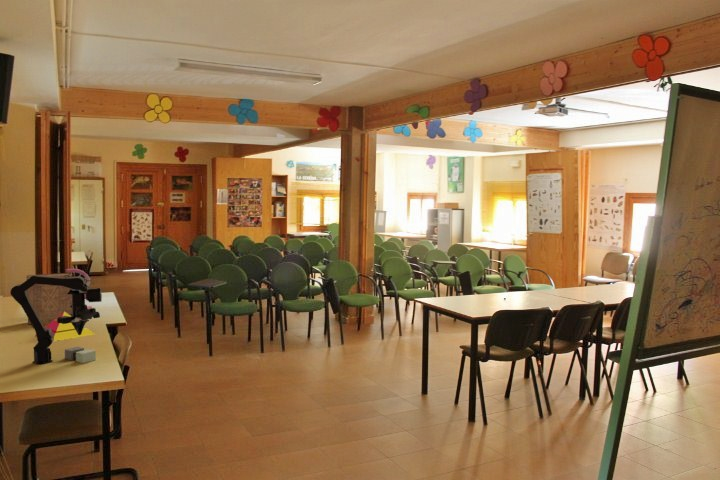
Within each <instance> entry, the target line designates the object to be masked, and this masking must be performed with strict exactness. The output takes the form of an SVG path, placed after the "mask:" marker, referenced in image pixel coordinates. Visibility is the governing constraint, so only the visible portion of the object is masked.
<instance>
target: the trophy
mask: <svg viewBox="0 0 720 480" xmlns="http://www.w3.org/2000/svg"><path fill="white" fill-rule="evenodd" d="M65 273H73V277H76V276H75V274H76V273H77V274H79V275H78V276H80V277H82V276H83V277H82V278H83V279H84V280H86V281H87V282H85V284H86V285H87V286H88V287H90V285H91V281H90V280H92V279H91V278H90V276H89V275H88V273H86V272H85V271H84V270H81V269H78V268H67V269H65ZM72 290H75V289H72ZM80 292H83V291H81V290H80ZM85 300H86V294H85ZM91 308H93V307H92V305H87V309H91Z"/></svg>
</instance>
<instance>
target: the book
mask: <svg viewBox="0 0 720 480" xmlns="http://www.w3.org/2000/svg"><path fill="white" fill-rule="evenodd" d="M33 275H34V274H28V275H26V281H27V280H28V279H29V278H30V277H31V276H33ZM37 275H38V276H50V277H61V278H67V277H73V274H72V272H69V273H67V272H63V273H62V272H61V273H45V274H44V273H43V274H37ZM70 289H71V288H67V287H64V286H57V285H44V284H34V285H33V286H32V287H30V288H29V289H28V293H29V298H30V302H31V303H32V305H33V307H34V309H35V310H36V312H37V314H38V316H39V318H40V319H41V321H42V323H43V325H45V324H44V323H46V324H50V323H51V322H52V321H53V320H56V318H57V317H58V316H59V315H61V314H62V313H63V312H64V311H65V312H66V313H67V314H69V315H70V316H71V313H72V307H70V305H72V294H67V293H68V292H69V291H70ZM71 317H72V316H71ZM27 323H28V326H32V324H31V322H30V321H29V319H28V318H27Z"/></svg>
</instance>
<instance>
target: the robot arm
mask: <svg viewBox="0 0 720 480" xmlns="http://www.w3.org/2000/svg"><path fill="white" fill-rule="evenodd" d="M32 275H33V276H31V277H30V278H29V279H28V280H27V279H26V280H25V281H24V282H22V283H19V284H16V285H14V286H13V287H12V288H11V289H10V296H12V297H11V298H13V300H14V301H15V302H17V303H18V304H19V305H20V306H21V308H22V310H23V311H24V313H25V314H26V315H25V316H26V317H27V320H28V319H29V321H30V322H31V324H32V325H31V326H32V327H33V329H34V332H35V336H36V340H37V343H36V344H35V345H34V346H33V361H32V362H31V363H33V364H35V365H44V364H48V363H52V362H53V360H52V351H51V348H50V347H51V346H52V344H53V341H54V334H53V333H52V330H51V328H49V329H47V328H46V326H45V324H43V323H42V321H41V319H40V318H39V316H38V314H37V312H36V310H35V309H34V307H33V305H32V303H31V302H30V298H29V293H28V289H29V288H30V287H32V286H33V285H34V284H44V285H57V286H64V287H67V288H71V289H70V291H69V292H68V293H67V294H72V305H70V307H72V313H71V316H72V317H70V316H61V317H58V319H57V323H62V324H67V323H72V325H73V326H74V328H75V330H76V332H77V333H78V335H81V333H82V330H83V327H84V326H85V325H86V324H87V322H89V321H90V320H92V319H97V318H98V319H99V318H101V313H100V312H99V311H96V308H95V307H92V308H91V309H87V306H88V305H87V304H86V301H87V302H88V303H100V302H101V303H102V301H103V299H102V298H103V297H102V296H103V295H102V288H101V287H96V288H94V287H93V288H90V286H87V285H86V279H83V278H84V277H82V276H79V275H78V276H72V277H67V278H61V277H50V276H38V275H39V274H32ZM72 289H75V290H72ZM80 290H81V291H83V292H80ZM85 294H86V299H85ZM54 342H55V341H54Z"/></svg>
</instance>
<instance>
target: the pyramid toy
mask: <svg viewBox="0 0 720 480" xmlns="http://www.w3.org/2000/svg"><path fill="white" fill-rule="evenodd" d="M61 316H70V315H69V314H67V313H66V312H65V311H64V312H63V313H62V314H61V315H59V316H58V317H61ZM58 317H57V318H56V320H53V321H52V322H51V323H47V325H46V326H45V327H46V328H47V329H49V328H51V330H52V333H53V334H54V342H58V341H57V340H60V341H64V339H66V340H71V339H70V338H72V339H76V338H82V337H89V336H93V335H96V333H94V332H93V331H91V330H90V329H89V328H88V327H86V326H85V325H84V327H83V330H82V333H81V335H78V333H77V332H76V330H75V328H74V326H73V325H72V323H67V324H62V323H57V319H58ZM70 317H71V316H70Z"/></svg>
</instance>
